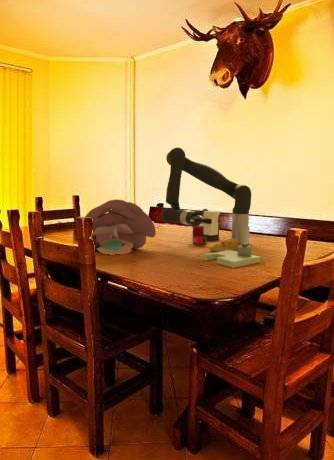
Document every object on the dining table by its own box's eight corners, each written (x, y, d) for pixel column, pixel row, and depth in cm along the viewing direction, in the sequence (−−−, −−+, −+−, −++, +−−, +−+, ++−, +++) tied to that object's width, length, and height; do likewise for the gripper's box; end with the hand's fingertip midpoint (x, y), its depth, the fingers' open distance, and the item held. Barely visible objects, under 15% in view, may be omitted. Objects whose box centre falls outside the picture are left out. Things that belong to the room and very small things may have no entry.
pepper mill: (220, 239, 217) (221, 210, 214) (205, 241, 211) (206, 210, 209) (205, 236, 230) (206, 208, 228) (191, 237, 225) (191, 208, 222)
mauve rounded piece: (91, 267, 166) (87, 210, 156) (75, 249, 185) (71, 196, 175) (156, 253, 182) (157, 200, 172) (136, 237, 201) (136, 189, 191)
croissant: (211, 260, 178) (214, 247, 173) (204, 247, 185) (207, 235, 181) (249, 256, 183) (253, 244, 179) (241, 244, 191) (245, 232, 187)
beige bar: (210, 233, 172) (210, 210, 170) (219, 234, 167) (220, 211, 165) (203, 234, 169) (203, 211, 167) (212, 235, 164) (213, 212, 162)
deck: (229, 255, 172) (230, 239, 171) (259, 262, 158) (260, 245, 157) (203, 259, 162) (204, 243, 161) (233, 267, 148) (234, 249, 147)
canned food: (205, 245, 197) (206, 225, 196) (191, 244, 199) (191, 225, 197) (207, 243, 205) (207, 224, 203) (193, 242, 206) (193, 223, 205)
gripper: (179, 211, 174) (203, 214, 160) (201, 209, 182) (226, 212, 169) (179, 226, 175) (203, 230, 161) (201, 224, 183) (225, 227, 170)
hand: (215, 221), depth 165 cm, fingers closed on beige bar, 4 cm apart
